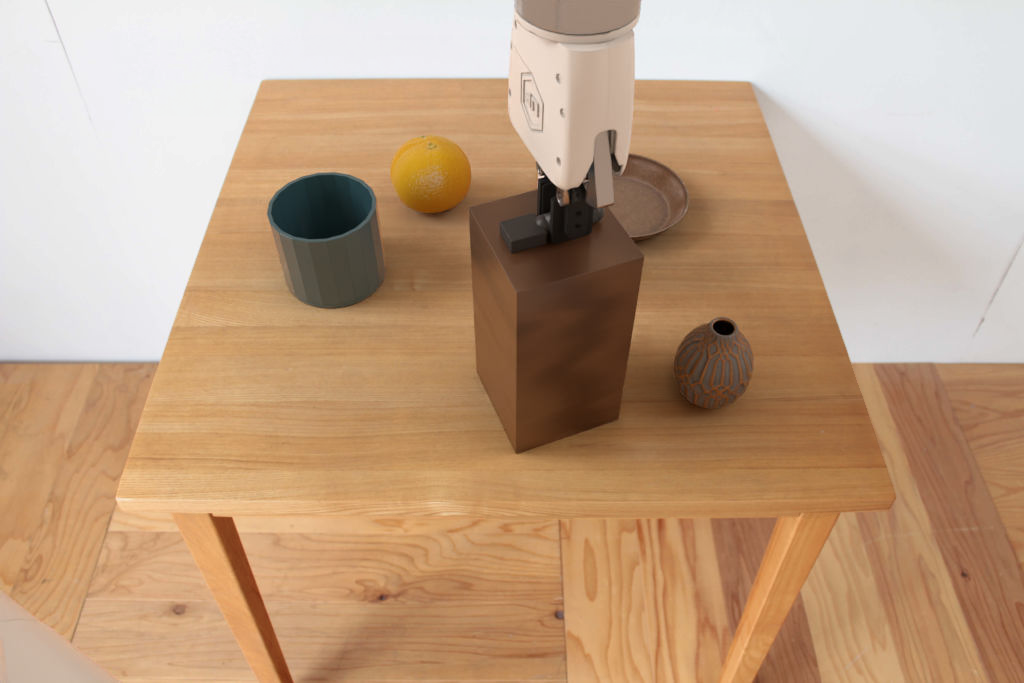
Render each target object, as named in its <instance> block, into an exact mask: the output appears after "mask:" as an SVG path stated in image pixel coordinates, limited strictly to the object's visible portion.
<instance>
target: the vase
mask: <svg viewBox="0 0 1024 683" xmlns="http://www.w3.org/2000/svg"><path fill="white" fill-rule="evenodd" d="M754 363H755V362H754V354H753V349H752V346H751V344H750V342H749V340H748V339H747V337H746V336H745V335H744V334H743V333H742V332H741V331H740V329H739V327H738V324H737V323H736V322H735V321H734V320H733V319H731V318H729V317H725V316H718V317H715V318H713V319H712V320H710V321H709V322H708V323H707V322H706V323H703V324H701V325H698V326H696V327H695V328H693V329H692V330H690V331H689V332H688V333H687V334H686V335H685V336H684V337H683V339H682V340H681V342H680V343H679V345H678V347H677V349H676V352H675V355H674V359H673V368H672V369H673V377H674V381H675V384H676V387H677V389H678V390H679V392H680V394H681V395H682V397H684V398H685V399H686V400H688V402H690V403H691V404H692V405H695V406H697V407H700V408H703V409H719V408H725V407H728V406H729V405H732V404H733V403H734V402H736V401H737V400H738V399H740V397H742V395H743V394H744V393H745V391H746V390H747V388H748V387H749V385H750V382H751V380H752V377H753V373H754V366H755V364H754Z"/></svg>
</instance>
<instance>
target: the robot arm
mask: <svg viewBox="0 0 1024 683" xmlns="http://www.w3.org/2000/svg"><path fill="white" fill-rule="evenodd" d="M641 6H642V0H513V18H512V23H511V24H512V26H511V34H510V49H509V63H508V64H509V66H508V67H509V68H508V90H507V91H508V92H507V112H508V117H509V120H510V122H511V125H512V126H513V128H514V130H515V131H516V133H517V134H518V136H519V138H520V139H521V141H522V142H523V144H524V145H525V146H526V148H527V150H528V151H529V152H530V154H531V156H532V158H534V160H535V168H536V171H537V175H538V174H539V175H540V176H544V177H543V178H539V179H538V178H537V183H538V196H537V217H538V216H539V215H542V214H545V213H549V212H550V233H549V238H550V240H551V241H552V243H553V244H558V243H562V242H565V241H569V240H573V239H576V238H580V237H583V236H587V235H589V234H590V233H591V231H592V223H593V212H594V209H596V210H597V209H600V208H604V207H608V206H612V205H614V189H613V176H612V174H613V175H615V176H617V177H619V176H621V174H622V173H623V171H624V169H625V167H626V164H627V159H628V154H629V153H630V148H631V142H632V141H631V140H632V131H633V121H634V120H633V119H634V105H635V104H634V103H635V78H636V48H635V47H636V46H635V31H634V28H635V27H636V26H637V24H638V23H639V21H640V17H641V9H642V7H641ZM585 176H586V181H583V180H584V178H585ZM0 683H123V682H122V681H121V680H120V679H118V678H117V677H116V676H114V675H113V674H112V673H110V672H109V671H108V670H107V669H105V668H104V667H103V666H102V665H100V664H99V663H97V662H96V661H95V660H94V659H93V658H91V657H90V656H88V655H87V654H86V653H85V652H84V651H82V650H81V649H79V648H78V647H76V645H74V644H73V643H71V642H70V641H69V640H68V639H67V638H65V637H64V636H63V635H62V634H60V633H59V632H58V631H56V630H55V629H54V628H52V627H51V626H50V625H48V624H47V623H45V622H42V621H41V619H39V618H37V617H36V616H35V615H34V614H32V613H31V612H30V611H28V610H27V609H26V608H25V607H24V606H22V605H21V604H20V603H18V602H17V601H16V600H15V599H13V598H12V597H10V596H9V595H8V594H7V593H6V592H4V590H2V589H0Z"/></svg>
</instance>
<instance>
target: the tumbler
mask: <svg viewBox="0 0 1024 683" xmlns="http://www.w3.org/2000/svg"><path fill="white" fill-rule="evenodd" d="M266 216H267V219H268V223H269V227H270V231H271V234H272V237H273V242H274V244H275V248H276V252H277V255H278V259H279V262H280V266H281V269H282V273H283V276H284V279H285V283H286V286H287V288H288V290H289V292H290V294H291V295H293V297H294V298H295V299H297V300H298V301H300V302H301V303H304V304H306V305H308V306H311V307H314V308H320V309H339V308H345V307H350V306H353V305H355V304H358V303H361V302H362V301H364V300H366V299H367V298H370V297H371V296H372V295H373V294H374V293H375V292H376V291H377V290H378V289H379V288H380V287H381V285H382V284H383V282H384V281H385V277H386V275H387V259H386V253H385V247H384V246H385V245H384V239H383V232H382V226H381V220H380V213H379V206H378V201H377V196H376V195H375V192H374V190H373V188H372V187H371V185H369V184H367V182H366V181H364V180H363V179H361V178H359V177H356V176H354V175H351V174H348V173H344V172H343V173H342V172H336V171H328V172H315V173H311V174H306V175H303V176H300V177H297V178H296V179H294V180H291V181H289V182H288V183H287V182H286V184H285V185H283V186H282V187H280V188H279V189H278V190H277V191H275V193H274V194H273V196H272V197H271V198H270V200H269V202H268V206H267V211H266Z"/></svg>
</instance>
